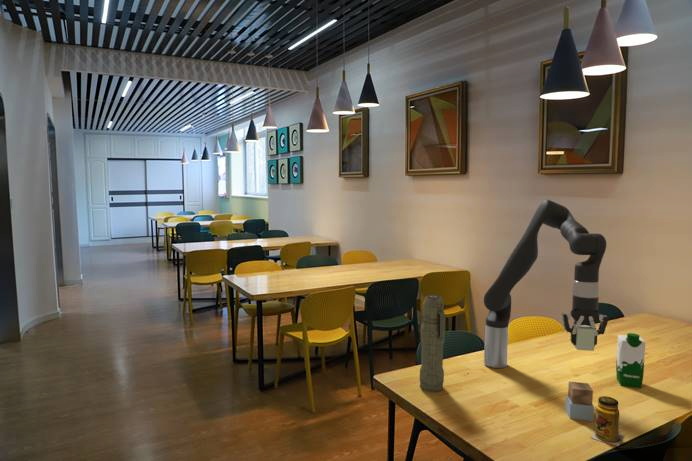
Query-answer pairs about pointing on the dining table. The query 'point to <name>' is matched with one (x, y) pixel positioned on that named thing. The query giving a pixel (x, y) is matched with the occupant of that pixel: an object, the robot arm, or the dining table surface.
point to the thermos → (432, 344)
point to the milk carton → (630, 360)
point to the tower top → (580, 393)
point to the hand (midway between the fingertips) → (583, 345)
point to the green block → (585, 338)
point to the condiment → (607, 421)
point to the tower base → (579, 410)
